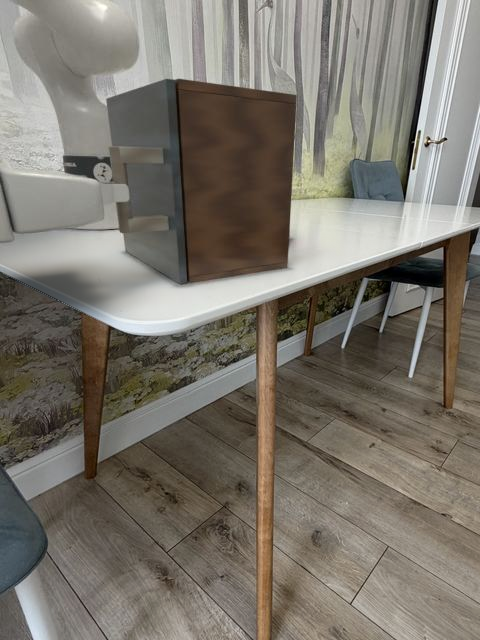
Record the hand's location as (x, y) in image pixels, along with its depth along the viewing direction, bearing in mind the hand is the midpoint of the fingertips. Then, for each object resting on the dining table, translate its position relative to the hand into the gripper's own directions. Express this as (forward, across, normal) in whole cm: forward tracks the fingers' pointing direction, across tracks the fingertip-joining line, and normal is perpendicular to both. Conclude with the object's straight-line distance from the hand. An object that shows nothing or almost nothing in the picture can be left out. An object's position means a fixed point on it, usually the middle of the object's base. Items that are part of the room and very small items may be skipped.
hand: (123, 191), depth 44 cm
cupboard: (+14, -8, -11) cm, 20 cm away
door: (+2, -8, -11) cm, 14 cm away
